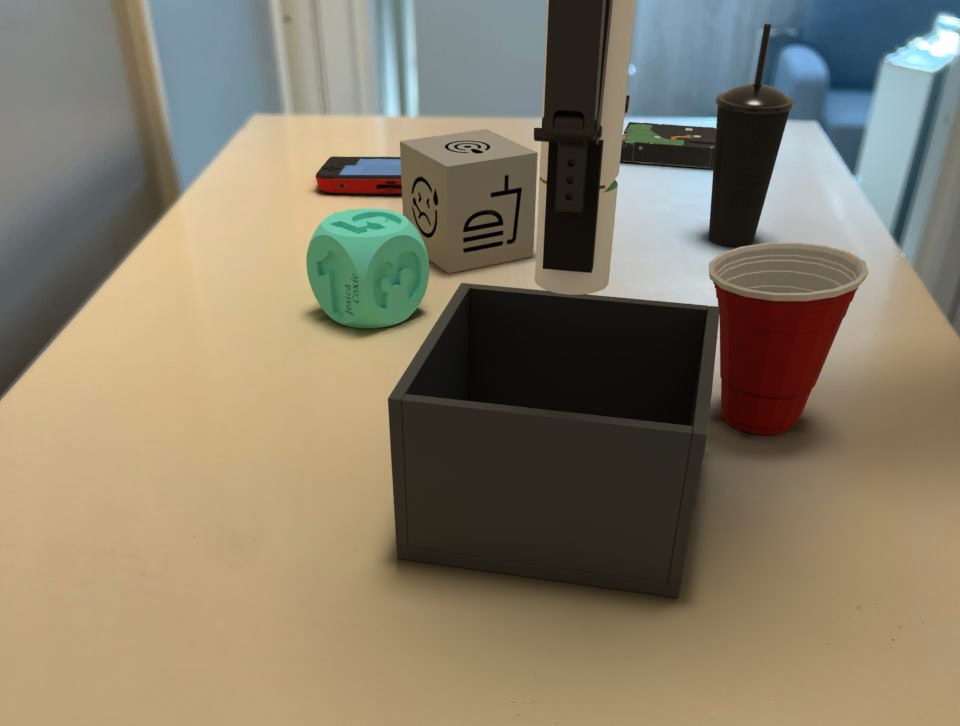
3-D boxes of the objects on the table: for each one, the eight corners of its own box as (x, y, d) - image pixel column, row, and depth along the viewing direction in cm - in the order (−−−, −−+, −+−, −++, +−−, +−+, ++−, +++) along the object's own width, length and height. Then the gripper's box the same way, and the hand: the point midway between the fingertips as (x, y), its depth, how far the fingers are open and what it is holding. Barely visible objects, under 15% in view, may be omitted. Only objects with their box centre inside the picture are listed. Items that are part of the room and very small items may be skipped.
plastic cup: (700, 376, 82) (725, 227, 74) (835, 399, 79) (875, 246, 71) (670, 436, 74) (694, 276, 66) (818, 464, 71) (861, 301, 63)
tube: (564, 300, 55) (585, -21, 45) (520, 276, 58) (531, -32, 48) (623, 284, 57) (656, -27, 47) (578, 262, 60) (600, -38, 50)
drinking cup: (752, 256, 103) (794, 35, 90) (684, 242, 106) (715, 26, 93) (777, 235, 108) (819, 22, 95) (711, 223, 111) (743, 14, 98)
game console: (442, 167, 127) (441, 148, 125) (434, 198, 117) (434, 178, 116) (330, 164, 127) (328, 146, 126) (313, 195, 118) (311, 175, 116)
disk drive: (734, 151, 134) (625, 142, 136) (738, 128, 132) (627, 119, 135) (732, 172, 126) (616, 162, 129) (736, 149, 125) (619, 139, 127)
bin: (695, 453, 72) (720, 306, 65) (678, 598, 59) (707, 434, 52) (461, 426, 75) (460, 282, 68) (396, 558, 62) (387, 398, 55)
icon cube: (533, 256, 103) (537, 152, 96) (448, 273, 99) (447, 166, 92) (485, 227, 109) (486, 128, 103) (404, 243, 105) (399, 141, 99)
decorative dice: (309, 311, 91) (300, 221, 86) (375, 288, 96) (370, 201, 91) (365, 337, 87) (359, 245, 82) (432, 311, 92) (429, 222, 86)
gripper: (557, -301, 48) (536, 201, 63) (480, -336, 35) (476, 305, 51) (714, -302, 47) (654, 210, 62) (692, -339, 34) (623, 319, 49)
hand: (574, 251), depth 56 cm, fingers closed on tube, 4 cm apart
